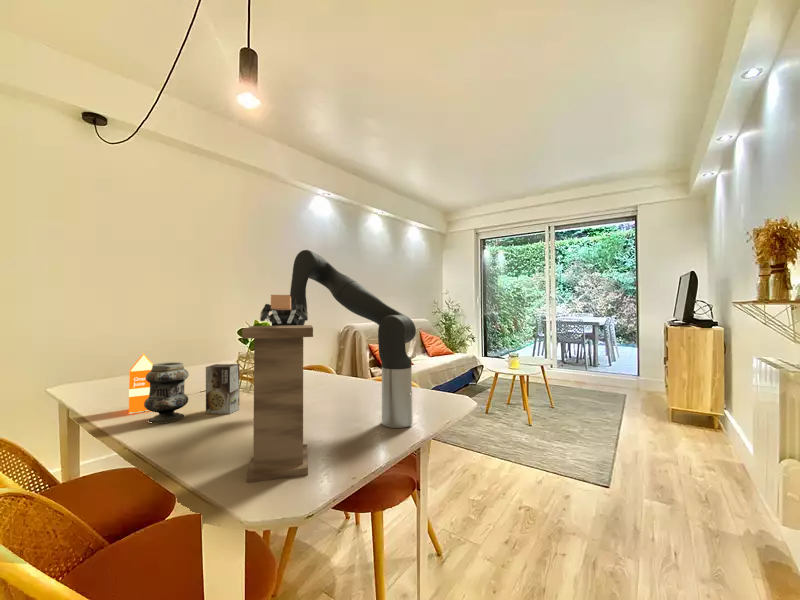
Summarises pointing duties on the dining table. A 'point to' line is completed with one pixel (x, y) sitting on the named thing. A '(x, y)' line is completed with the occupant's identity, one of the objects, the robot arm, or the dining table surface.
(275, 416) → the stand
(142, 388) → the orange juice
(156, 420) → the apothecary jar
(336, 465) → the dining table surface
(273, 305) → the block
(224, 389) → the coffee box
